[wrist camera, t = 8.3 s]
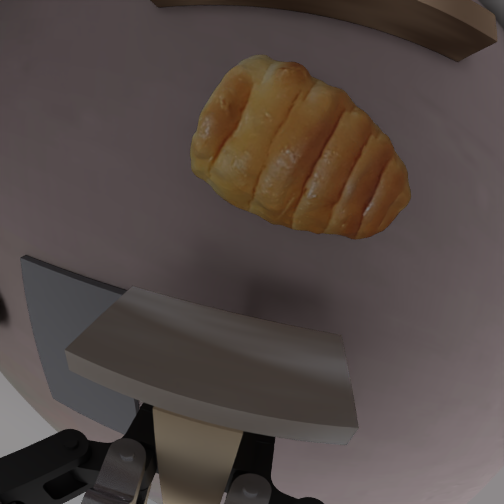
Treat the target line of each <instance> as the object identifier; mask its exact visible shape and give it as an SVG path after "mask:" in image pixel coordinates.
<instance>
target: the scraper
mask: <svg viewBox="0 0 504 504" xmlns="http://www.w3.org/2000/svg"><path fill="white" fill-rule="evenodd" d="M65 354H66V359H67V363H68V367H69V370H70V371H72V372H74V373H76V374H78V375H80V376H82V377H84V378H87V379H89V380H91V381H93V382H95V383H98V384H100V385H102V386H104V387H107V388H109V389H111V390H114V391H116V392H119V393H121V394H123V395H126V396H129V397H131V398H134V399H136V400H139V401H142V402H144V403H147V404H150V405H153V406H154V407H153V420H154V433H155V444H156V453H157V462H158V470H159V478H160V485H161V492H162V498H163V504H220V502H221V499H222V496H223V493H224V490H225V487H226V484H227V481H228V478H229V475H230V472H231V469H232V466H233V463H234V460H235V457H236V454H237V451H238V448H239V444H240V441H241V438H242V435H243V431H246V432H251V433H256V434H262V435H267V436H273V437H279V438H285V439H292V440H300V441H308V442H316V443H326V444H338V445H347V444H348V442H349V441H350V440H351V438H352V437H353V435H354V434H355V433H356V431H357V430H358V428H359V427H358V421H357V415H356V409H355V403H354V397H353V391H352V386H351V380H350V375H349V370H348V365H347V360H346V355H345V350H344V345H343V341H342V336H341V335H338V334H333V333H327V332H322V331H317V330H311V329H306V328H301V327H296V326H291V325H286V324H282V323H277V322H272V321H268V320H263V319H259V318H254V317H250V316H245V315H241V314H237V313H232V312H228V311H224V310H220V309H216V308H212V307H208V306H204V305H200V304H196V303H192V302H188V301H185V300H181V299H177V298H173V297H170V296H166V295H162V294H159V293H155V292H152V291H148V290H145V289H141V288H138V287H134V286H132V287H131V288H130V289H129V290H128V291H127V292H125V293H124V294H123V295H122V296H121V297H120V298H119V299H118V300H117V301H116V302H114V303H113V304H112V305H111V306H110V307H109V308H108V309H107V310H106V311H105V312H104V313H102V314H101V315H100V316H99V317H98V318H97V319H96V320H95V321H94V322H93V323H92V324H91V325H90V326H89V327H87V328H86V329H85V330H84V331H83V332H82V333H81V334H80V335H79V336H78V337H77V338H76V339H75V340H74V341H73V342H72V343H71V344H70V345H69V346H68V347H67V348H66V349H65Z"/></svg>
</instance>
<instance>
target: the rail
mask: <svg viewBox="0 0 504 504" xmlns="http://www.w3.org/2000/svg"><path fill="white" fill-rule="evenodd" d="M150 1H152V2H153V3H154V4H155V5H156V6H157V7H168V6H183V5H241V6H256V7H267V8H276V9H284V10H292V11H298V12H305V13H310V14H316V15H321V16H326V17H331V18H335V19H339V20H344V21H348V22H352V23H355V24H359V25H363V26H366V27H370V28H373V29H376V30H380V31H383V32H386V33H389V34H392V35H395V36H398V37H400V38H403V39H406V40H408V41H411V42H414V43H416V44H419V45H421V46H424V47H426V48H428V49H431V50H433V51H435V52H438V53H440V54H442V55H444V56H446V57H448V58H450V59H453V60H455V61H457V62H458V61H460V60H462V59H464V58H466V57H468V56H470V55H472V54H474V53H476V52H478V51H480V50H482V49H484V48H486V47H488V46H490V45H492V44H494V43H496V42H497V30H496V21H495V15H494V14H493V13H491V12H490V11H488V10H487V9H485V8H483V7H482V6H480V5H478V4H477V3H475V2H473V1H471V0H150Z"/></svg>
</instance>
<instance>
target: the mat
mask: <svg viewBox="0 0 504 504" xmlns="http://www.w3.org/2000/svg"><path fill="white" fill-rule="evenodd" d="M20 260H21V268H22V276H23V283H24V289H25V295H26V301H27V306H28V311H29V316H30V321H31V325H32V330H33V334H34V338H35V342H36V346H37V350H38V353H39V357H40V360H41V364H42V367H43V370H44V373H45V376H46V379H47V382H48V385H49V388H50V391H51V394H52V397H53V399H55V400H57V401H59V402H60V403H62V404H64V405H65V406H67V407H69V408H71V409H73V410H75V411H76V412H78V413H80V414H82V415H84V416H86V417H88V418H90V419H92V420H94V421H96V422H98V423H100V424H102V425H104V426H106V427H109V428H111V429H113V430H115V431H117V432H120V433H122V434H124V435H125V434H126V432H127V430H128V428H129V427H130V425H131V423H132V421H133V420H134V418H135V416H136V414H137V413H138V411H139V404H138V400H136V399H134V398H131V397H129V396H126V395H123V394H121V393H119V392H116V391H114V390H111V389H109V388H107V387H104V386H102V385H100V384H98V383H95V382H93V381H91V380H89V379H87V378H84V377H82V376H80V375H78V374H76V373H74V372H72V371H70V370H69V367H68V363H67V359H66V354H65V349H66V348H67V347H68V346H69V345H70V344H71V343H72V342H73V341H74V340H75V339H76V338H77V337H78V336H79V335H80V334H81V333H82V332H83V331H84V330H85V329H86V328H87V327H89V326H90V325H91V324H92V323H93V322H94V321H95V320H96V319H97V318H98V317H99V316H100V315H101V314H102V313H104V312H105V311H106V310H107V309H108V308H109V307H110V306H111V305H112V304H113V303H114V302H116V301H117V300H118V299H119V298H120V297H121V296H122V295H123V294H124V293H125V292H127V291H126V290H123V289H120V288H117V287H114V286H111V285H107V284H104V283H101V282H98V281H95V280H92V279H89V278H87V277H84V276H81V275H78V274H75V273H72V272H69V271H67V270H64V269H61V268H58V267H56V266H53V265H50V264H47V263H45V262H42V261H40V260H37V259H34V258H32V257H29V256H27V255H25V256H23V257H21V258H20Z"/></svg>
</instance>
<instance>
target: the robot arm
mask: <svg viewBox="0 0 504 504" xmlns="http://www.w3.org/2000/svg"><path fill="white" fill-rule="evenodd" d="M153 407H154V406H153V405H150V404H147V403H144V402H143V404H142V406H141V407H140V410H139V411H138V413H137V414H136V416H135V418H134V420H133V421H132V423H131V425H130V427H129V428H128V430H127V432H126V434H125V435H124V436H123V437H122V438H121V439H118V440H116V441H114V442H112V443H102V442H96V441H90V440H87V438H86V436H85V435H84V434H83V433H81V432H80V431H77V430H74V429H66V430H63V431H60V432H58V433H56V434H55V435H52V436H50V437H48V438H46V439H43V440H41V441H39V442H37V443H34V444H32V445H30V446H28V447H26V448H23V449H21V450H18V451H16V452H14V453H11V454H9V455H7V456H4V457H2V458H0V504H63V503H65V502H67V501H69V500H70V499H73V498H75V497H76V496H78V495H80V494H82V493H84V492H86V493H85V495H84V497H83V500H82V503H81V504H147V499H148V496H149V492H150V488H151V482H152V480H153V477H154V475H155V473H158V474H159V470H158V462H157V453H156V444H155V433H154V420H153ZM274 444H275V437H273V436H267V435H262V434H256V433H251V432H246V431H243V435H242V438H241V441H240V444H239V448H238V451H237V454H236V457H235V460H234V463H233V466H232V469H231V472H230V475H229V478H228V481H227V484H226V487H225V490H224V492H226V493H227V496H226V500H225V503H224V504H324V503H323V502H321V501H320V500H318V499H316V498H312V497H304V498H300V499H296V498H294V497H291V496H289V495H286V494H284V493H282V492H280V491H279V490H278V489H277V488H276V487H275V486H274V485H273V483H272V480H271V469H272V461H273V452H274Z"/></svg>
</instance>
